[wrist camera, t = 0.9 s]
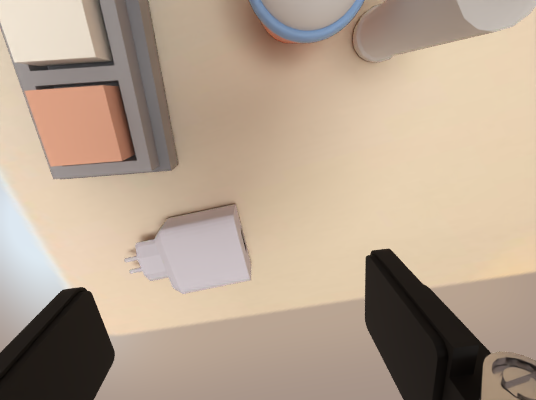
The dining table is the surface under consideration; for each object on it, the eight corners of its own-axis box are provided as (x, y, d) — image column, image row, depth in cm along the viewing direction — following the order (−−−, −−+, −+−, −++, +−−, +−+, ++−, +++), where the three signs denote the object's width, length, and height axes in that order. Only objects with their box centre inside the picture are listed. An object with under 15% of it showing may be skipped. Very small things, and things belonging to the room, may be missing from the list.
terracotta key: (48, 91, 26) (24, 90, 23) (118, 86, 26) (102, 85, 23) (70, 159, 28) (50, 166, 25) (135, 154, 28) (122, 160, 26)
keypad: (-28, -154, 23) (-107, -224, 18) (118, -161, 24) (81, -232, 19) (75, 172, 33) (43, 186, 28) (178, 164, 34) (164, 176, 28)
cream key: (13, -21, 23) (-21, -37, 20) (92, -25, 23) (70, -42, 20) (40, 66, 25) (14, 62, 22) (112, 61, 25) (95, 57, 23)
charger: (121, 225, 36) (235, 201, 36) (146, 283, 39) (251, 262, 39) (103, 243, 32) (233, 216, 31) (133, 307, 35) (251, 283, 35)
